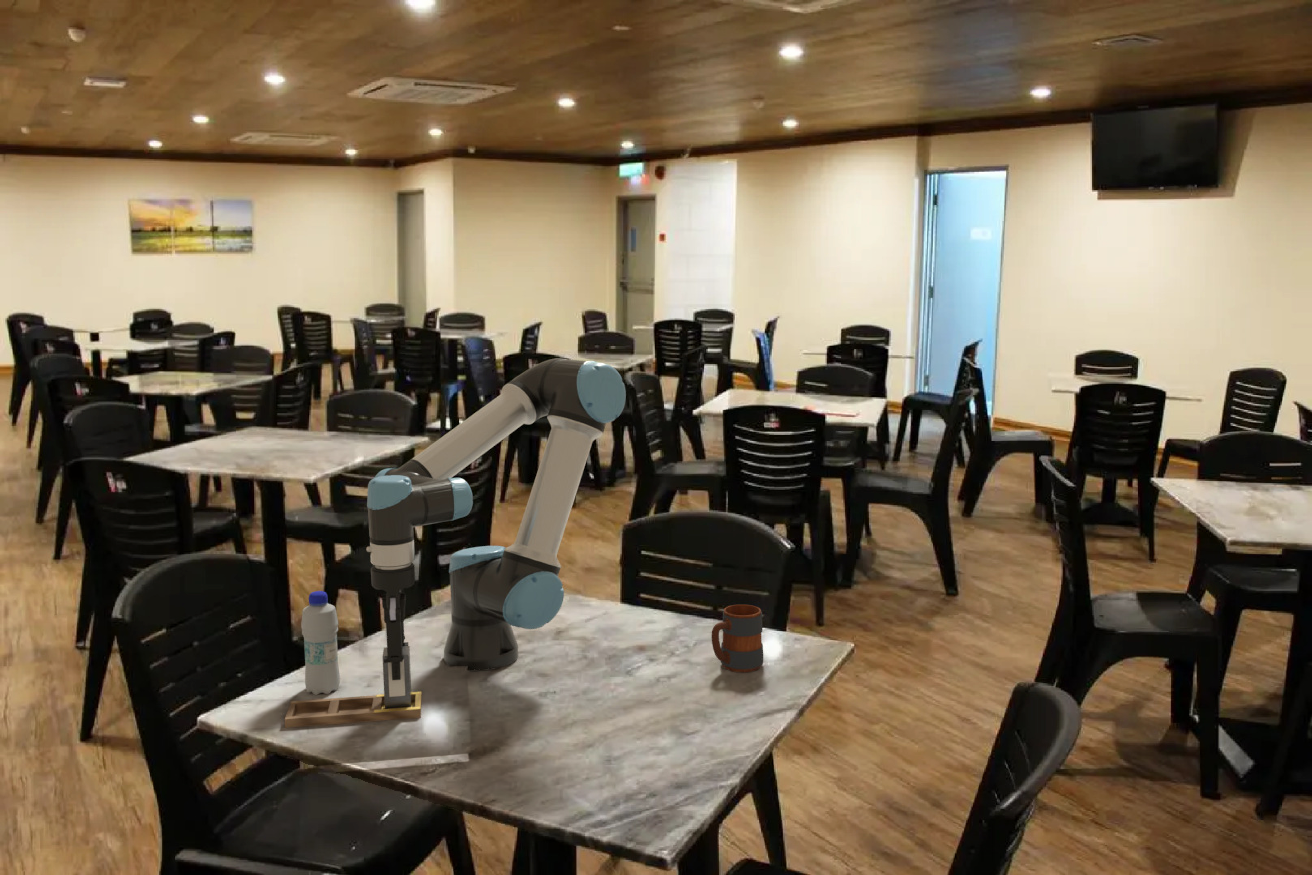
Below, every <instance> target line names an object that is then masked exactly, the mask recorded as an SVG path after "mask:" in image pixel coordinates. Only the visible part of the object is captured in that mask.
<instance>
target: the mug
mask: <svg viewBox="0 0 1312 875" xmlns="http://www.w3.org/2000/svg"><path fill="white" fill-rule="evenodd" d="M720 631H722V642H720ZM762 633H763V611H762V609H761V608H760V607H758V606H755V605H751V604H733V605H728V606H726V607H725V608H724V609H723V611H722V621H720V622H718V623H716V624H714V626H713V627H712V630H711V644H712V650H713V651H714V654H715V657H716V658H717V660H719V661H720V663H721V665H722V667H723V668H724V669H725V670H727V671H730V672H734V673H741V674H742V673H752V672H756V671H758V670H759V669H760V668H762V665H763V664H764V646H763V642H762Z"/></svg>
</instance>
